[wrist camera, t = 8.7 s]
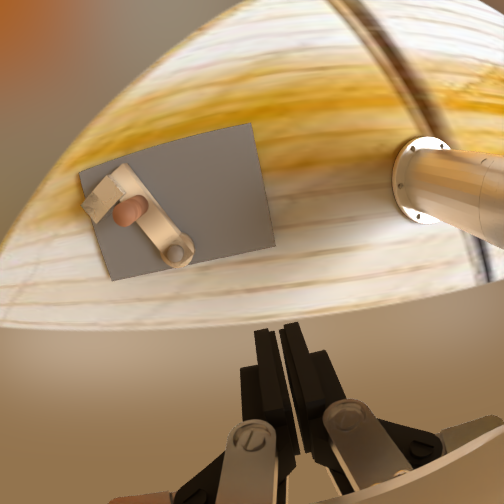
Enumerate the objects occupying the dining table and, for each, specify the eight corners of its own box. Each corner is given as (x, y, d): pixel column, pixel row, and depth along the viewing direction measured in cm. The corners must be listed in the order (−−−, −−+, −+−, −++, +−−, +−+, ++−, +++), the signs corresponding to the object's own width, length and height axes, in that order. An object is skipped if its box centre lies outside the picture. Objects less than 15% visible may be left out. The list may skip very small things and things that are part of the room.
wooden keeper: (132, 190, 33) (123, 194, 30) (106, 217, 34) (96, 224, 31) (117, 172, 32) (106, 174, 29) (91, 200, 33) (80, 205, 30)
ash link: (201, 250, 36) (195, 272, 29) (177, 268, 36) (166, 293, 30) (130, 160, 32) (107, 163, 25) (106, 181, 32) (81, 189, 26)
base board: (250, 124, 33) (250, 122, 32) (274, 242, 38) (275, 246, 36) (83, 171, 33) (78, 172, 32) (115, 276, 38) (112, 281, 37)
